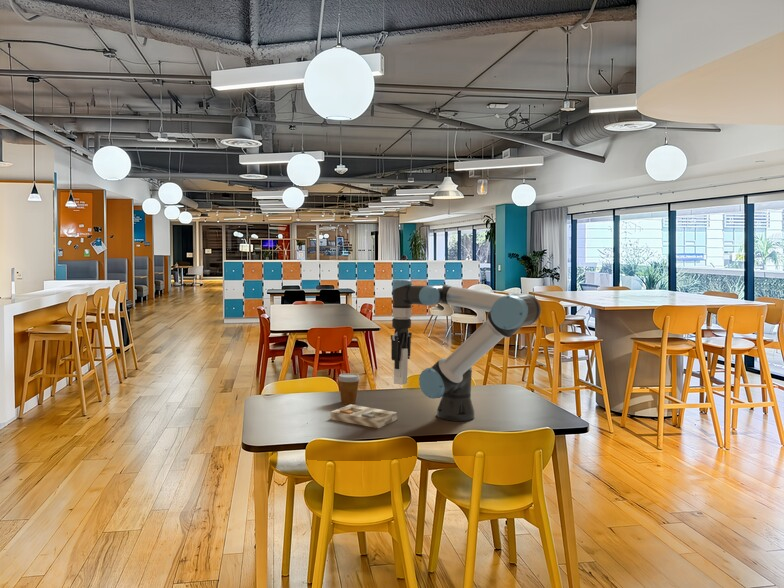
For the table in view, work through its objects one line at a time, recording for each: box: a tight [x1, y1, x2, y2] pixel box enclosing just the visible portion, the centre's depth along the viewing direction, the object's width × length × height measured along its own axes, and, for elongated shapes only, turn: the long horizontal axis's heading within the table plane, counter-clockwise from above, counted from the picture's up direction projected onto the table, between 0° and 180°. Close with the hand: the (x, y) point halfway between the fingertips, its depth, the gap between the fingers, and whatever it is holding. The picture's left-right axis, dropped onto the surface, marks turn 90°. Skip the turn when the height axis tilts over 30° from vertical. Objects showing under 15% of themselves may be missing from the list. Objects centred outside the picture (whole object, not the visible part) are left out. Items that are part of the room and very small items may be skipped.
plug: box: [393, 348, 409, 386], centre depth 249 cm, size 4×4×14 cm
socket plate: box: [330, 404, 398, 429], centre depth 242 cm, size 22×14×4 cm, turn 60°
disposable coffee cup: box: [337, 372, 361, 405], centre depth 269 cm, size 10×10×12 cm
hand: (400, 375), depth 249 cm, fingers closed on plug, 4 cm apart
